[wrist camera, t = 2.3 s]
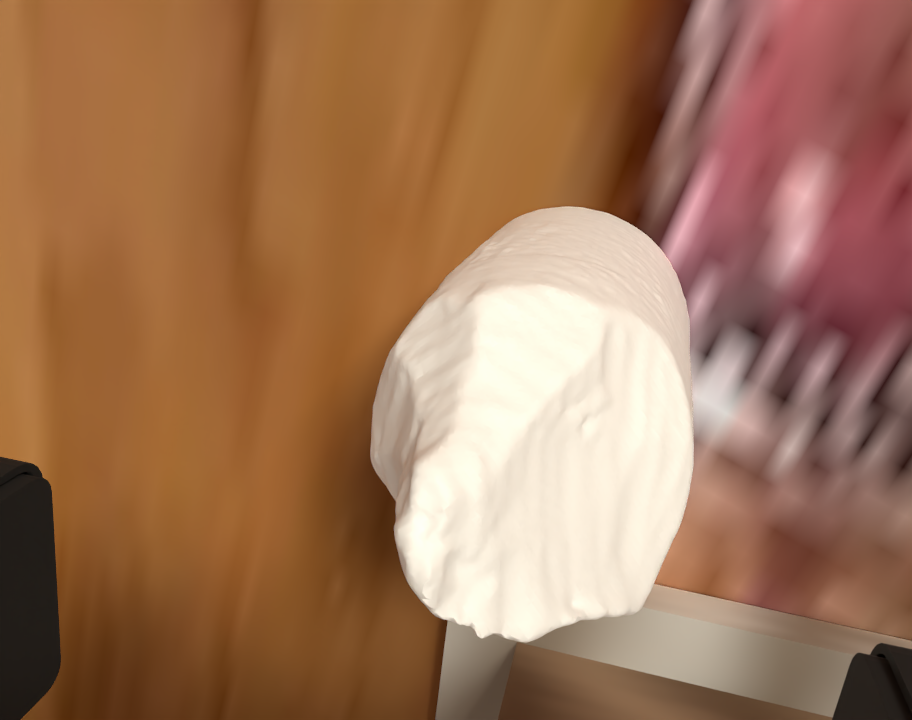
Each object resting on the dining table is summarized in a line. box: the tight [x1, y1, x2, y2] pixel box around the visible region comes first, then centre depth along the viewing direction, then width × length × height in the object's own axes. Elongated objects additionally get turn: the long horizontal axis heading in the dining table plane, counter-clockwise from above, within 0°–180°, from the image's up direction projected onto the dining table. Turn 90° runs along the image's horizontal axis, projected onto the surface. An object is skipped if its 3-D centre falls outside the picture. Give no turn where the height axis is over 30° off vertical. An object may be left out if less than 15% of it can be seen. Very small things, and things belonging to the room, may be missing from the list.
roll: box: [370, 206, 694, 643], centre depth 16 cm, size 6×12×6 cm
